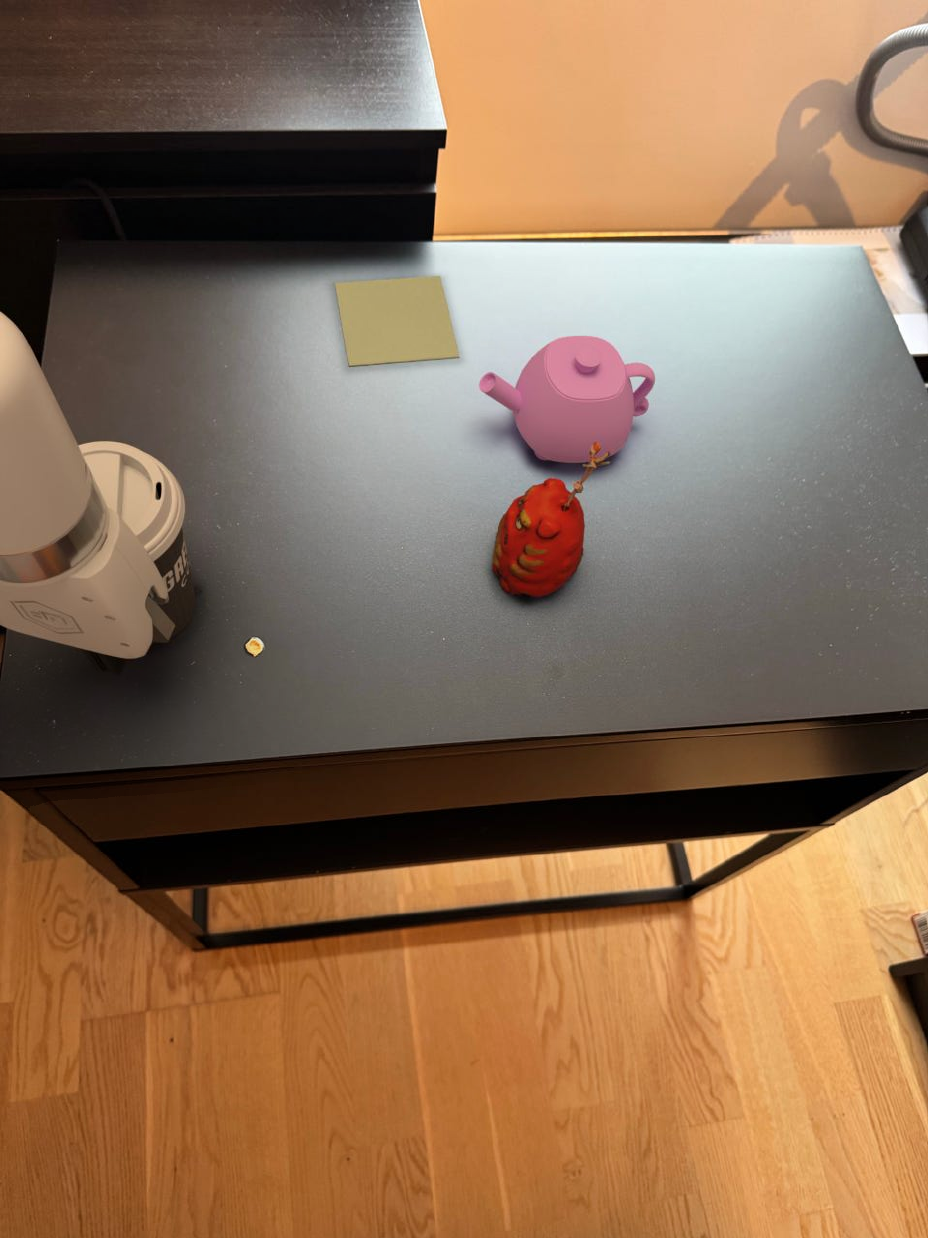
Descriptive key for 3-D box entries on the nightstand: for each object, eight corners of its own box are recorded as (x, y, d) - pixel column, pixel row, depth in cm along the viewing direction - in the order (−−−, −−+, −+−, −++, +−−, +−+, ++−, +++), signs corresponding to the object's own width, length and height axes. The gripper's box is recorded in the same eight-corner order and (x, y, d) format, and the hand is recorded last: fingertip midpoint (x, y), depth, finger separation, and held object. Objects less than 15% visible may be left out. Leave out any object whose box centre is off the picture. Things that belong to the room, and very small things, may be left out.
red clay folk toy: (492, 520, 75) (518, 401, 61) (576, 528, 75) (620, 412, 62) (487, 602, 71) (514, 495, 58) (576, 610, 72) (622, 506, 58)
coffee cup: (186, 678, 66) (138, 580, 53) (62, 642, 67) (-16, 535, 53) (235, 570, 70) (203, 454, 57) (119, 536, 71) (60, 413, 57)
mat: (348, 366, 80) (348, 365, 80) (334, 283, 85) (334, 282, 84) (459, 357, 82) (459, 356, 82) (440, 276, 86) (440, 275, 86)
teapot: (650, 475, 78) (683, 404, 70) (478, 482, 76) (492, 411, 68) (627, 380, 83) (656, 304, 74) (464, 385, 81) (475, 307, 72)
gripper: (-148, 536, 46) (-9, 676, 62) (136, 608, 45) (200, 729, 62) (-75, 422, 49) (38, 583, 66) (191, 488, 49) (238, 633, 65)
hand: (117, 653), depth 64 cm, fingers closed
